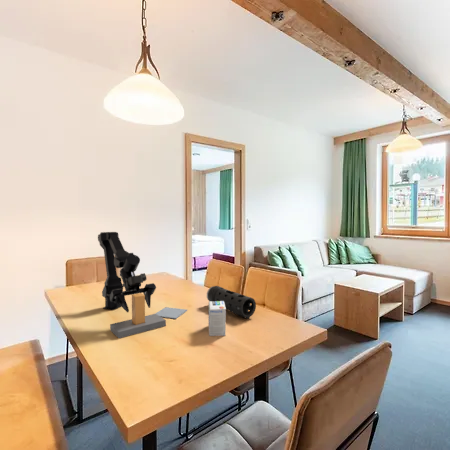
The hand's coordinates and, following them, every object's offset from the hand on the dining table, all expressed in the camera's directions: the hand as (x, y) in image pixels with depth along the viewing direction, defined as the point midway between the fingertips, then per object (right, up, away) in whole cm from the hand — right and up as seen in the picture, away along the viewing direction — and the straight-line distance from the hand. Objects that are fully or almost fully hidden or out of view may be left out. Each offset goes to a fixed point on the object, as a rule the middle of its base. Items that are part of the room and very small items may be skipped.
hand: (139, 309), depth 119 cm
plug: (-1, -8, +1) cm, 8 cm away
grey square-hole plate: (-1, -8, +1) cm, 8 cm away
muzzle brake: (+38, -8, +22) cm, 45 cm away
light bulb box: (+32, -8, -1) cm, 33 cm away
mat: (+9, -7, +19) cm, 22 cm away
